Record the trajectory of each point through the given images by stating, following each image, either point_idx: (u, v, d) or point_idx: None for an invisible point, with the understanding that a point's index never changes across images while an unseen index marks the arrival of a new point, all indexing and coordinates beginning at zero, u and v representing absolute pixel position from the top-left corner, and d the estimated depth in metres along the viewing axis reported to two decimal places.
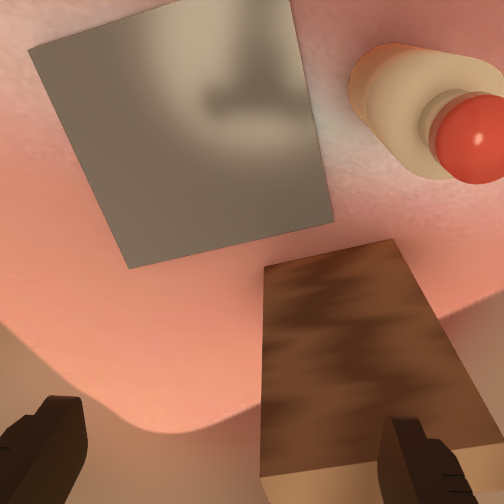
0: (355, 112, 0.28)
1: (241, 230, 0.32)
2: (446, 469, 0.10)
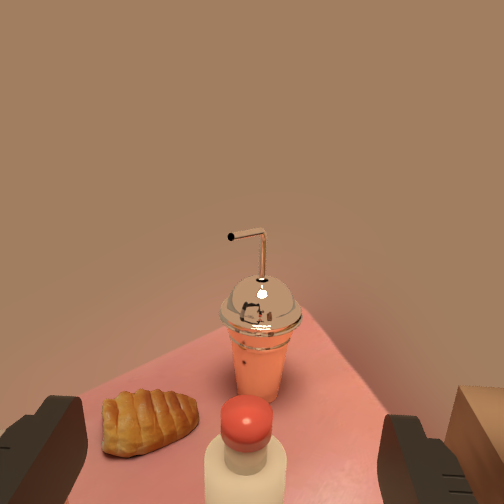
0: None
1: None
2: (446, 469, 0.10)
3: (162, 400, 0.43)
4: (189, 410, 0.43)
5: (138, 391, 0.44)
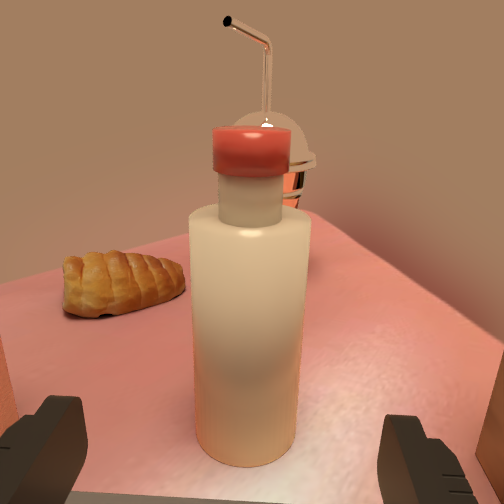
0: (263, 454, 0.20)
1: None
2: (446, 469, 0.10)
3: (139, 258, 0.35)
4: (173, 270, 0.35)
5: (110, 251, 0.35)
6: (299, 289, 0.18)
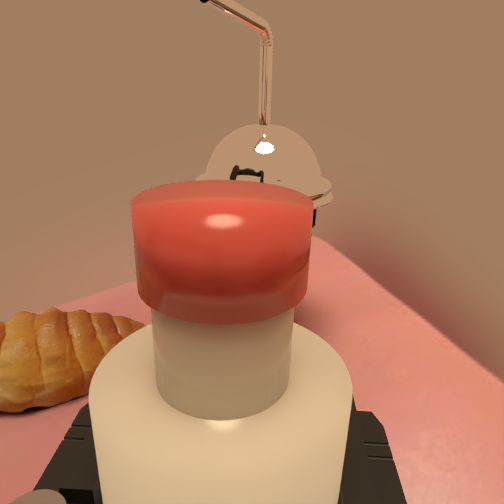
0: None
1: None
2: (372, 437, 0.11)
3: (85, 320, 0.26)
4: None
5: (47, 310, 0.26)
6: None
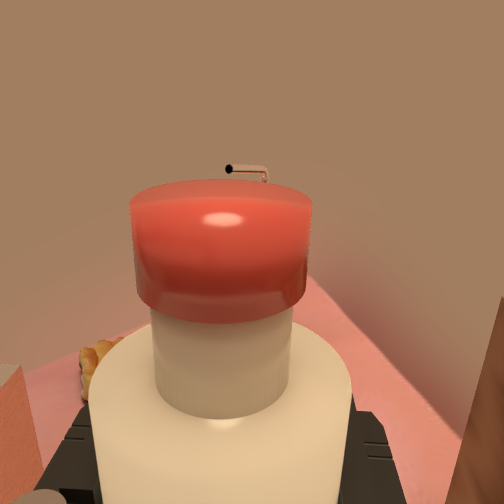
0: None
1: None
2: (372, 437, 0.11)
3: None
4: None
5: (117, 339, 0.41)
6: None
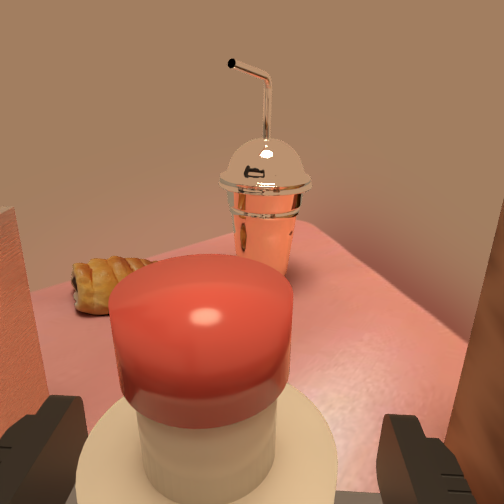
0: None
1: None
2: (445, 468, 0.10)
3: (138, 261, 0.40)
4: None
5: (110, 257, 0.41)
6: None
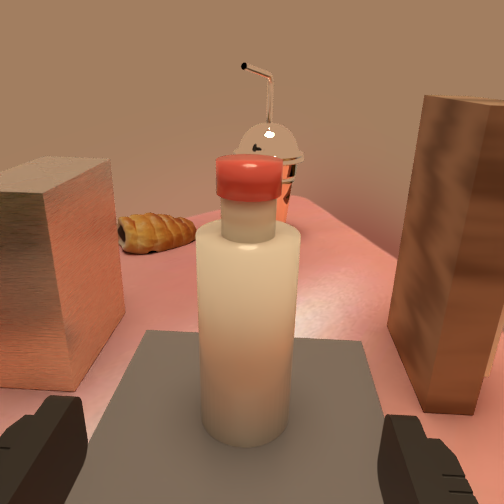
0: (260, 436, 0.23)
1: (363, 403, 0.26)
2: (446, 469, 0.10)
3: (167, 216, 0.53)
4: (189, 224, 0.53)
5: (145, 214, 0.53)
6: (290, 295, 0.21)
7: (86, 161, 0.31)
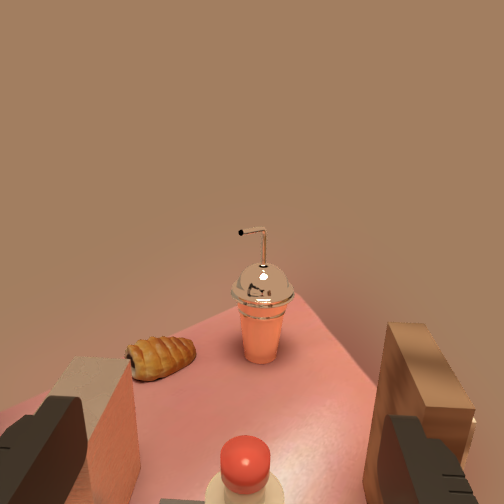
0: None
1: None
2: (446, 469, 0.10)
3: (169, 341, 0.60)
4: (190, 346, 0.60)
5: (150, 338, 0.60)
6: None
7: (111, 368, 0.38)
